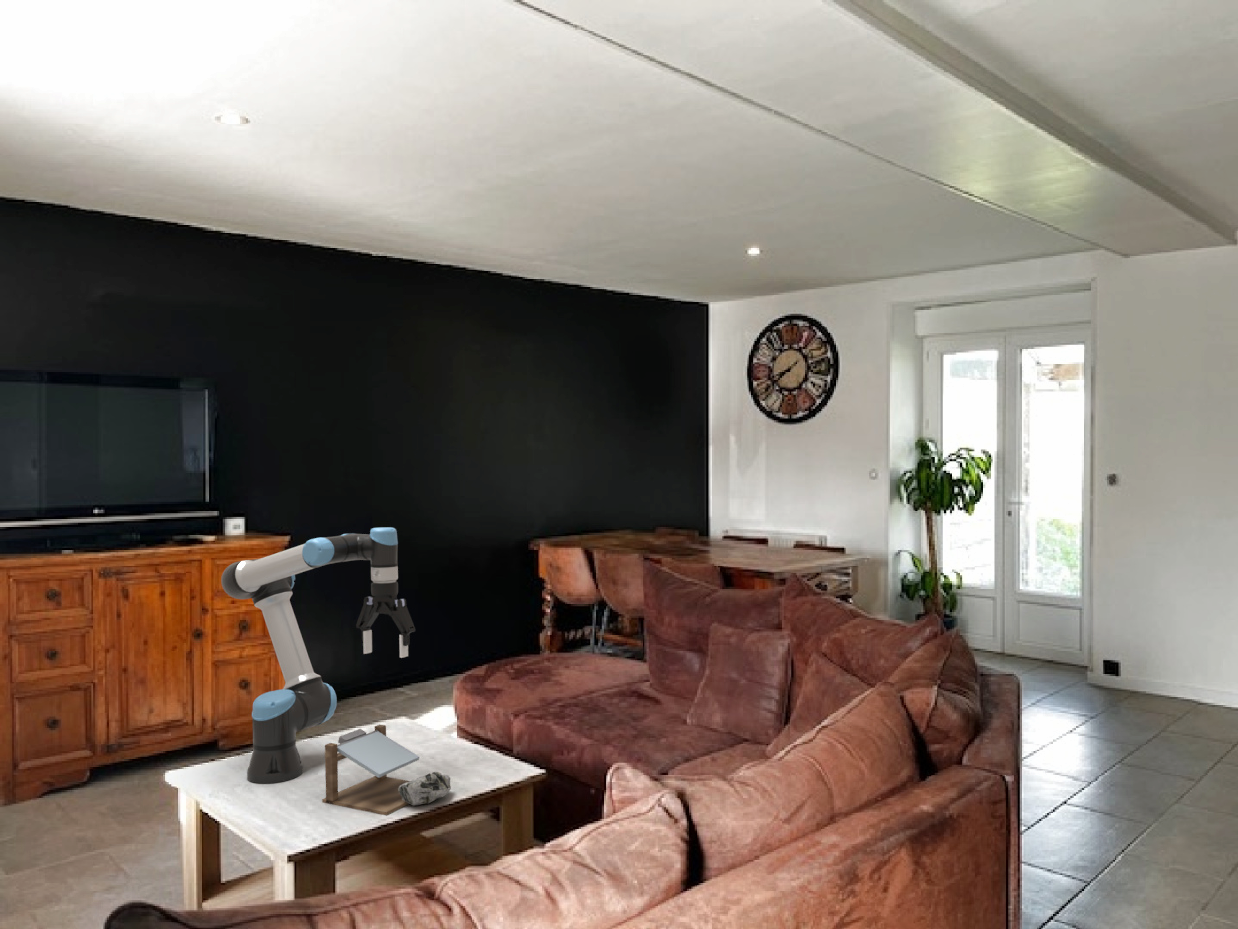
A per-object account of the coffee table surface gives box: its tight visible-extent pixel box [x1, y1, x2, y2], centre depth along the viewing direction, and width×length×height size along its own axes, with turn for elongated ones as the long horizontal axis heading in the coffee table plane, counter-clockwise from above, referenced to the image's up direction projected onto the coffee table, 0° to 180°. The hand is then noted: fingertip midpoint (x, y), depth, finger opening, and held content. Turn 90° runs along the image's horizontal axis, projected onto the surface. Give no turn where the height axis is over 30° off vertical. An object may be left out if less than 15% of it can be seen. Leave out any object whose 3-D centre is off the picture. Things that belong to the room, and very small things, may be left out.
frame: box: [321, 724, 411, 816], centre depth 252 cm, size 22×21×15 cm
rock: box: [398, 771, 452, 806], centre depth 248 cm, size 15×10×7 cm
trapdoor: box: [337, 728, 420, 778], centre depth 253 cm, size 19×17×2 cm
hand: (385, 655), depth 269 cm, fingers open, 13 cm apart
